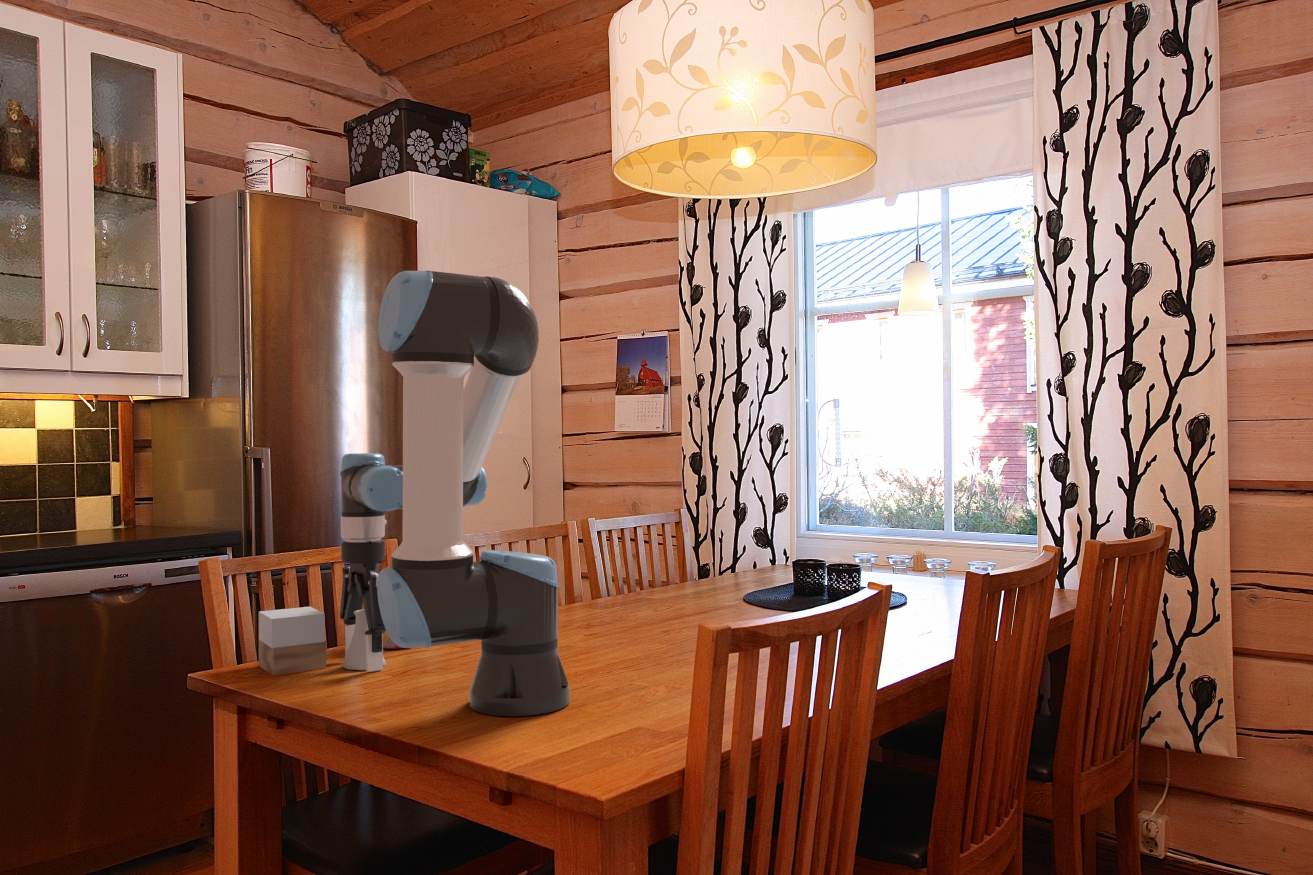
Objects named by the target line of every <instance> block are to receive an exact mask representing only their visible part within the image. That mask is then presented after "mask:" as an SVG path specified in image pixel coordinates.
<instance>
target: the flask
mask: <svg viewBox="0 0 1313 875" xmlns="http://www.w3.org/2000/svg"><path fill="white" fill-rule="evenodd" d="M354 614H355V615H356V624H355V629H354V634H353V637H352V639H351V642H350V645H349V648H348V651H347V653H346V656H344V659H343V661H342V664H341V667H342V668H344V669H347V670H352V671H353V670H354V671H355V670H356V671H367V663H366V635H365V632H366V631H367V630H368V624H367V619H366V614H365V609H364V608H363V609H361V610H357V611H354ZM385 665H387V661H386V660H385V657H384V656H383V666H385Z"/></svg>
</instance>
